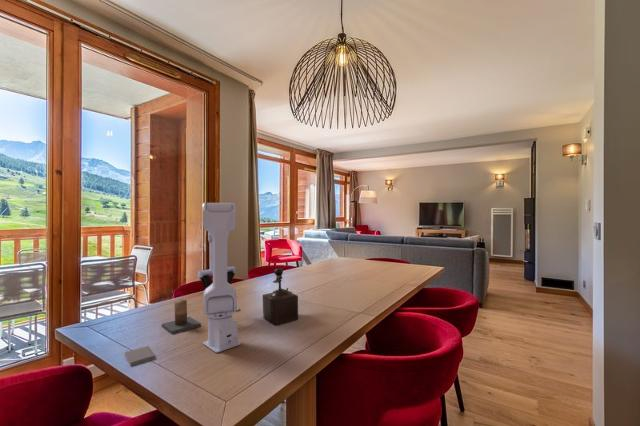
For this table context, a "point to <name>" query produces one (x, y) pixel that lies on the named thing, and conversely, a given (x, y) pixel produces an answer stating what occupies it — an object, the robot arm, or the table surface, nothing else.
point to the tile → (139, 355)
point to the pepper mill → (280, 304)
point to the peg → (180, 312)
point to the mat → (180, 326)
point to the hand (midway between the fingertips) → (217, 292)
